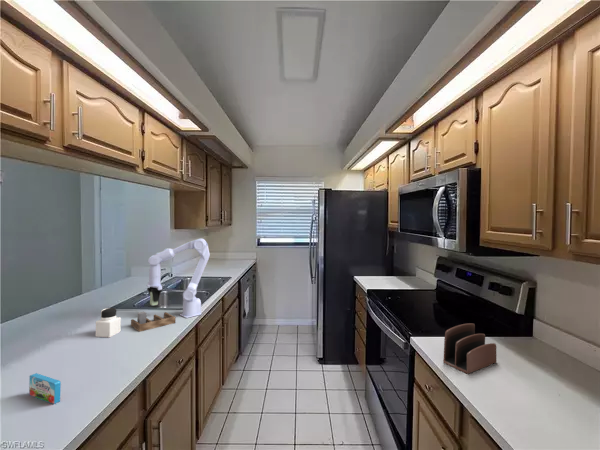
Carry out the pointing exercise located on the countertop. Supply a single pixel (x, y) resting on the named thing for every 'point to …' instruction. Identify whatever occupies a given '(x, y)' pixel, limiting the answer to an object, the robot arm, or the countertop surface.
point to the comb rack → (153, 322)
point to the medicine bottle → (108, 323)
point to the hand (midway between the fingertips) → (154, 300)
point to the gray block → (141, 317)
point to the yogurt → (44, 388)
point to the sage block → (152, 300)
